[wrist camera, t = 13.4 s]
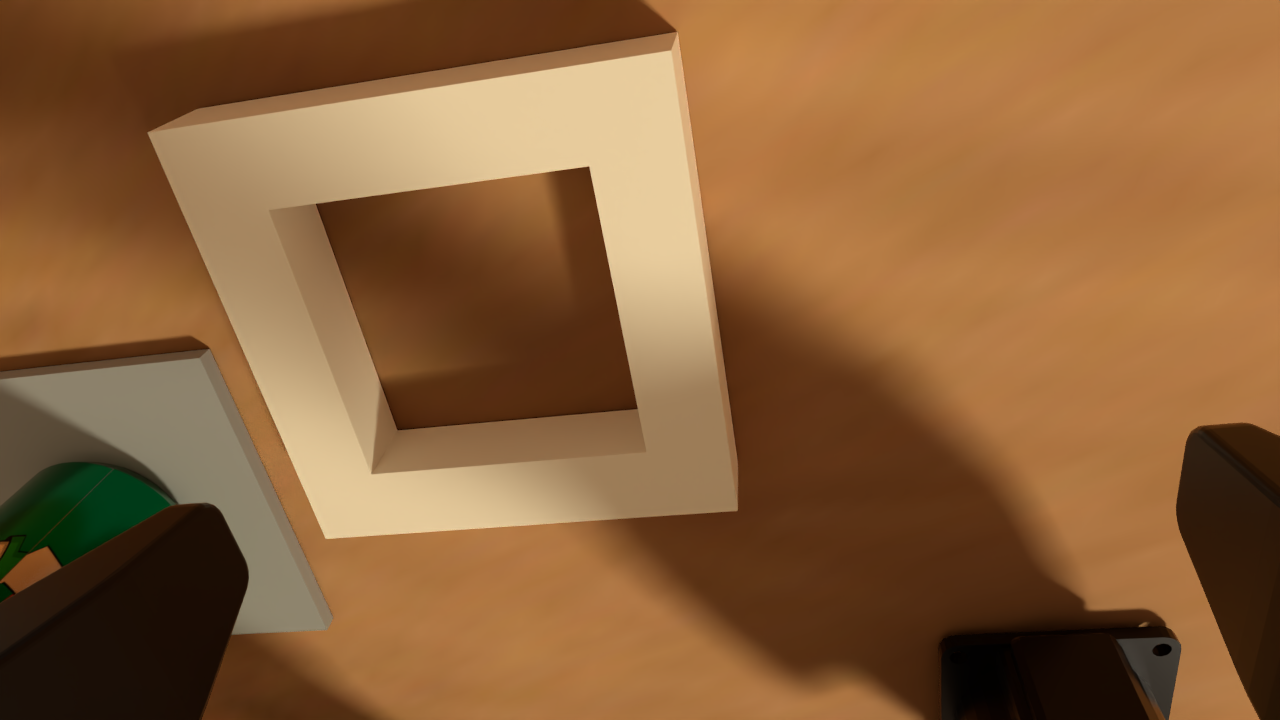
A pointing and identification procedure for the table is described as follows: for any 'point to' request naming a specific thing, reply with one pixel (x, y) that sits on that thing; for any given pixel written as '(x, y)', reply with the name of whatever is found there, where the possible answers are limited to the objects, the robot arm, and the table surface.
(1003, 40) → the table surface
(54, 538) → the soda can
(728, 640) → the table surface
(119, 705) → the robot arm
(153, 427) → the grey mat
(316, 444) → the block
